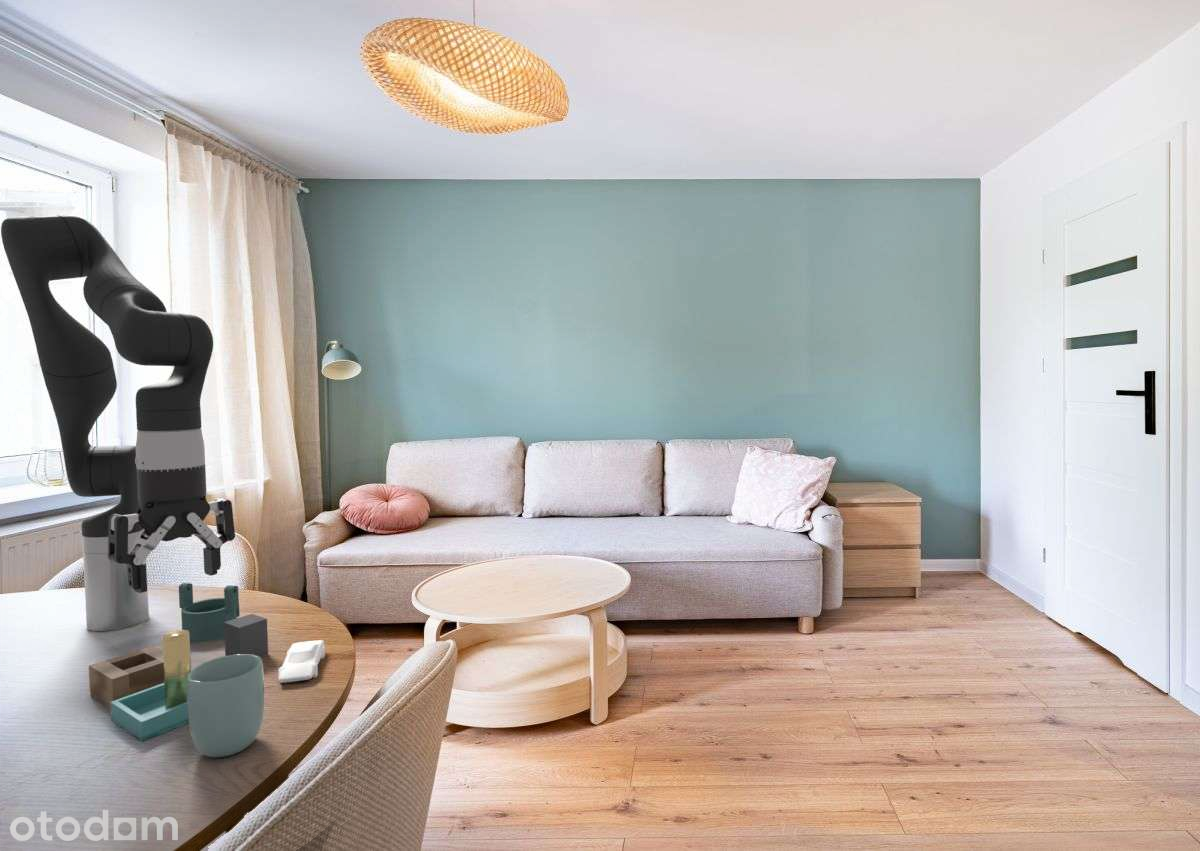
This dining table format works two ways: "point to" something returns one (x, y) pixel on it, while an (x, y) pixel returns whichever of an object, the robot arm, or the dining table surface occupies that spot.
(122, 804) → the dining table surface
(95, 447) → the robot arm
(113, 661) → the socket
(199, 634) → the bracket
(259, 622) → the dark grey block
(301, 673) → the toy car
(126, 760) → the dining table surface
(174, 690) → the pin
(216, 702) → the cup
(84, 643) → the dining table surface
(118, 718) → the tray
